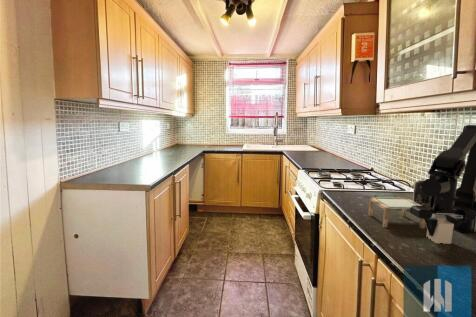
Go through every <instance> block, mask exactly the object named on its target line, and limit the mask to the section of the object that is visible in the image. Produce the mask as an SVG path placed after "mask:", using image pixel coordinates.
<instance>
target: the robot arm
mask: <svg viewBox="0 0 476 317" xmlns="http://www.w3.org/2000/svg"><path fill="white" fill-rule="evenodd" d="M467 155H468V156H467ZM466 156H467V159H466V160H465V158H466ZM462 174H463V175H462ZM427 175H429V177H428V178H427V179H425V180H424V181H423V183H422V184H421V189H422V191H423V192H424V194H418V196H417V202H418V203H422V204H421V205H422V206H418V205H413V206H411V208H410V210H409V213H410V214H411V215H413V216H415V217H417V218H418V219H424V220H425V226H426V227H427V228H428V232H429V235H430V236H433V234H434V232H435V229H436V225H437V222H438V220H437V219H435V218H436V215H437V216H444V217H445V220H447V221H449V222H451V223H453V224H454V227H453V232H454V231H457V232H459V233H475V234H476V229H475V227H476V124H467V125H464V126H463V128H462V132H461V133H460V134H459V135H458V137H457V138H456V139H455V141H454V142H453V144H452V145H451V146H450V147H449V148H447V149H446V150H442V151H441V152H440V153H439V154H438V155H436V157H434V160H433V161H432V164H431V166H430V168H429V170H428V172H427ZM461 176H462V179H461V182H460V185H459V186H458V181H459V179H460V177H461ZM425 194H426V195H428V196H430V197H426V195H425ZM426 206H427V207H426ZM427 228H426V229H427Z"/></svg>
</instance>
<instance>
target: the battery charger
mask: <svg viewBox="0 0 476 317" xmlns="http://www.w3.org/2000/svg"><path fill="white" fill-rule="evenodd" d="M423 181H424V180H423V179H422V180H421V179H420V180H416V181H415V182H414V184H413V185H414V186H413V195H412V201H414V202H416V203H418V202H417V196H418V194H424V192H423V191H422V189H421V184H422V183H423ZM425 195H426V194H425ZM426 197H430V196H428V195H426ZM418 204H420V205H422V203H418Z"/></svg>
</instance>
